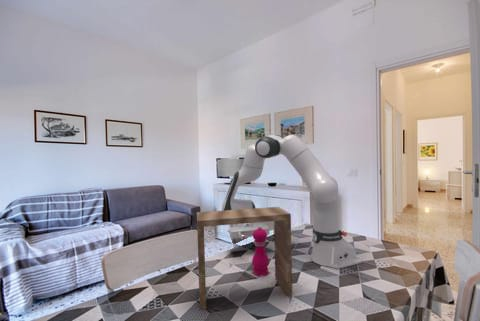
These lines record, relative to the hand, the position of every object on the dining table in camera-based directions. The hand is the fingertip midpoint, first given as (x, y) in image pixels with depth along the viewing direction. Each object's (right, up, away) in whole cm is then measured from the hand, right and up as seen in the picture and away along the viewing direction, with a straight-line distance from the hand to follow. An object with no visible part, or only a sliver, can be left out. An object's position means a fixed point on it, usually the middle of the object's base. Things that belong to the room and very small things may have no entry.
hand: (252, 236), depth 114 cm
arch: (-5, -12, -27) cm, 30 cm away
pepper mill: (+3, -11, -12) cm, 17 cm away
